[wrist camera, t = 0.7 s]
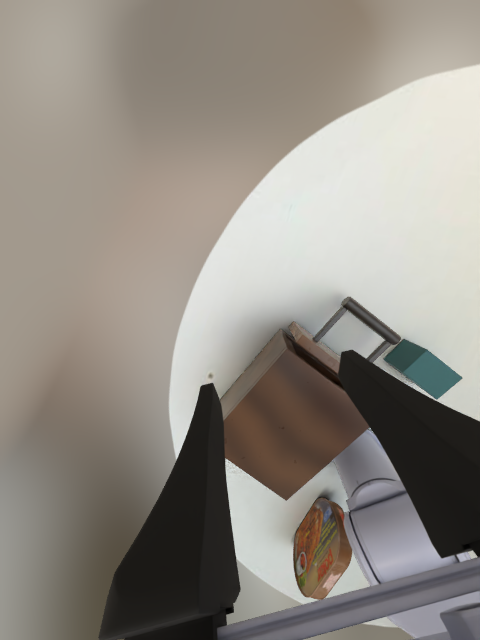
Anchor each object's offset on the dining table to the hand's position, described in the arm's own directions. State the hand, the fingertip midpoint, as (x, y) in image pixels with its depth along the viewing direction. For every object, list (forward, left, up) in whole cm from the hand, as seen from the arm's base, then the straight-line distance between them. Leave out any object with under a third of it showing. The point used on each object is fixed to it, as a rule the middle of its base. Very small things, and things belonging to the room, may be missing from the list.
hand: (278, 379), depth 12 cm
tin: (-31, +25, -20) cm, 45 cm away
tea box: (-21, -7, -20) cm, 30 cm away
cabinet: (-10, +9, -20) cm, 24 cm away
